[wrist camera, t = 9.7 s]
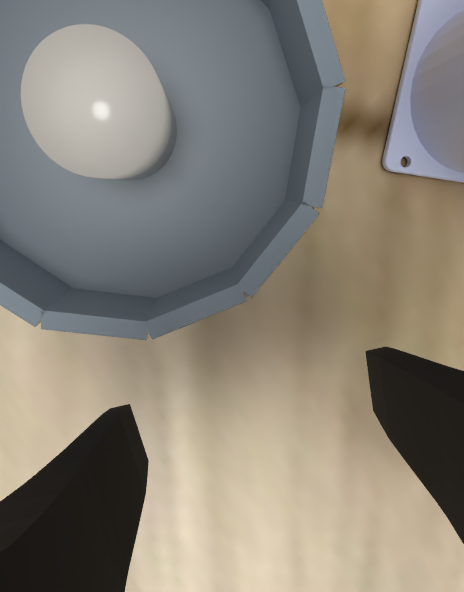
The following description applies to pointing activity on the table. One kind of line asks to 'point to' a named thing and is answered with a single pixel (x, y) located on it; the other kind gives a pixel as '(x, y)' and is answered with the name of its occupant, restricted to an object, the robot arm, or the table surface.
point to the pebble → (97, 104)
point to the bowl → (171, 166)
